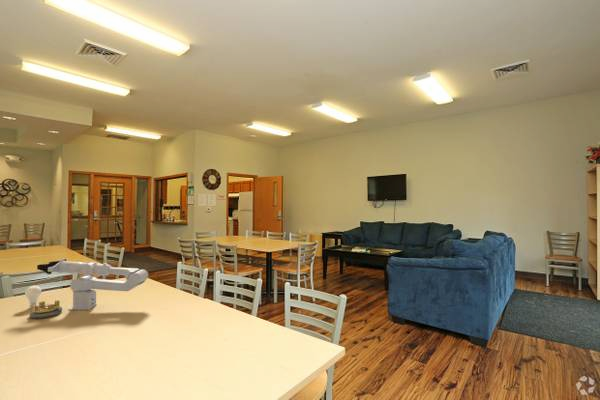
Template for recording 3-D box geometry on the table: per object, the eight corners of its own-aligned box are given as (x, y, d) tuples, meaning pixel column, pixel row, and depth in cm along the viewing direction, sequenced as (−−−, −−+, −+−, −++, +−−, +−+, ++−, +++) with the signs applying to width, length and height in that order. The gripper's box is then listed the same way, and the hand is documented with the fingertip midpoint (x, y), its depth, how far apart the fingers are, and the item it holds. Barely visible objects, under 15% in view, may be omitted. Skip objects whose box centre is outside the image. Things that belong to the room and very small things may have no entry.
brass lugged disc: (64, 306, 152) (64, 299, 152) (49, 313, 142) (49, 306, 142) (43, 306, 151) (43, 300, 151) (26, 313, 141) (26, 306, 141)
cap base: (67, 310, 153) (68, 305, 153) (49, 319, 141) (49, 314, 141) (43, 310, 152) (43, 306, 152) (22, 319, 140) (22, 314, 140)
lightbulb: (33, 309, 153) (34, 287, 153) (21, 309, 153) (21, 287, 153) (44, 305, 159) (44, 284, 159) (32, 305, 159) (32, 284, 159)
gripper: (81, 257, 164) (55, 255, 164) (62, 262, 150) (33, 260, 149) (79, 270, 164) (53, 268, 163) (60, 276, 150) (31, 274, 149)
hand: (43, 265), depth 156 cm, fingers open, 7 cm apart
